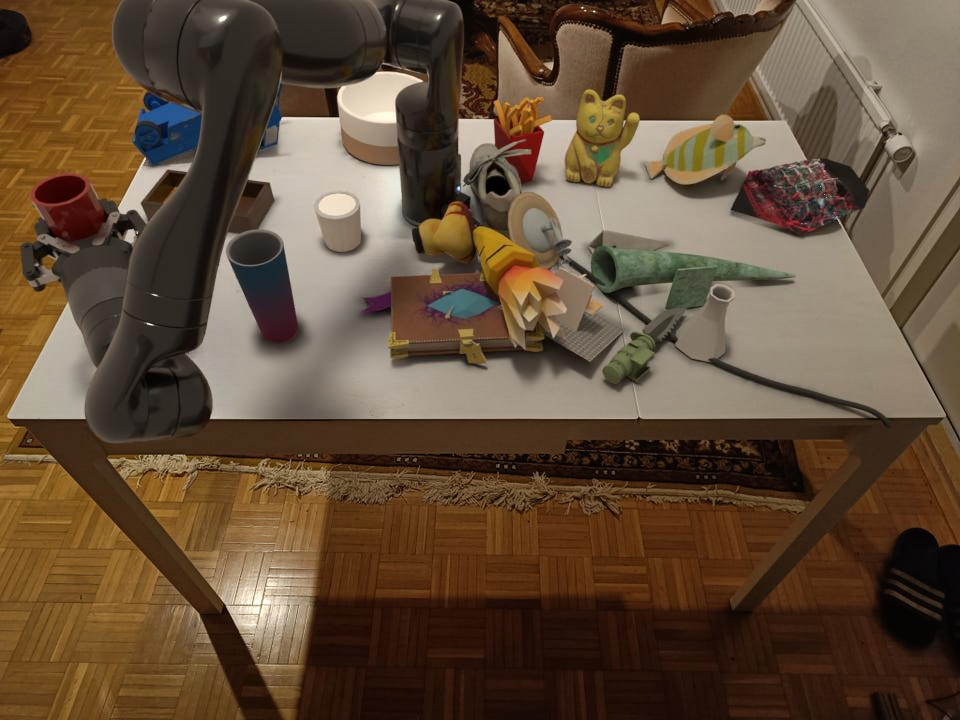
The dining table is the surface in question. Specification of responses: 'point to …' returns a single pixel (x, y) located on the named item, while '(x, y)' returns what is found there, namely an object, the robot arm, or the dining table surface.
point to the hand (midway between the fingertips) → (75, 213)
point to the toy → (448, 234)
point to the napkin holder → (581, 318)
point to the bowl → (372, 116)
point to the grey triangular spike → (624, 241)
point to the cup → (265, 282)
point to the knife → (641, 348)
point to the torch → (519, 285)
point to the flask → (706, 327)
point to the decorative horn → (671, 273)
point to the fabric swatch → (801, 194)
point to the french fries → (520, 134)
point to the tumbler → (69, 206)
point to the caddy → (248, 210)
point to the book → (447, 317)
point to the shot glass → (339, 220)
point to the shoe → (495, 183)
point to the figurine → (599, 139)
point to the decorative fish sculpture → (705, 151)
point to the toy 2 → (537, 229)
